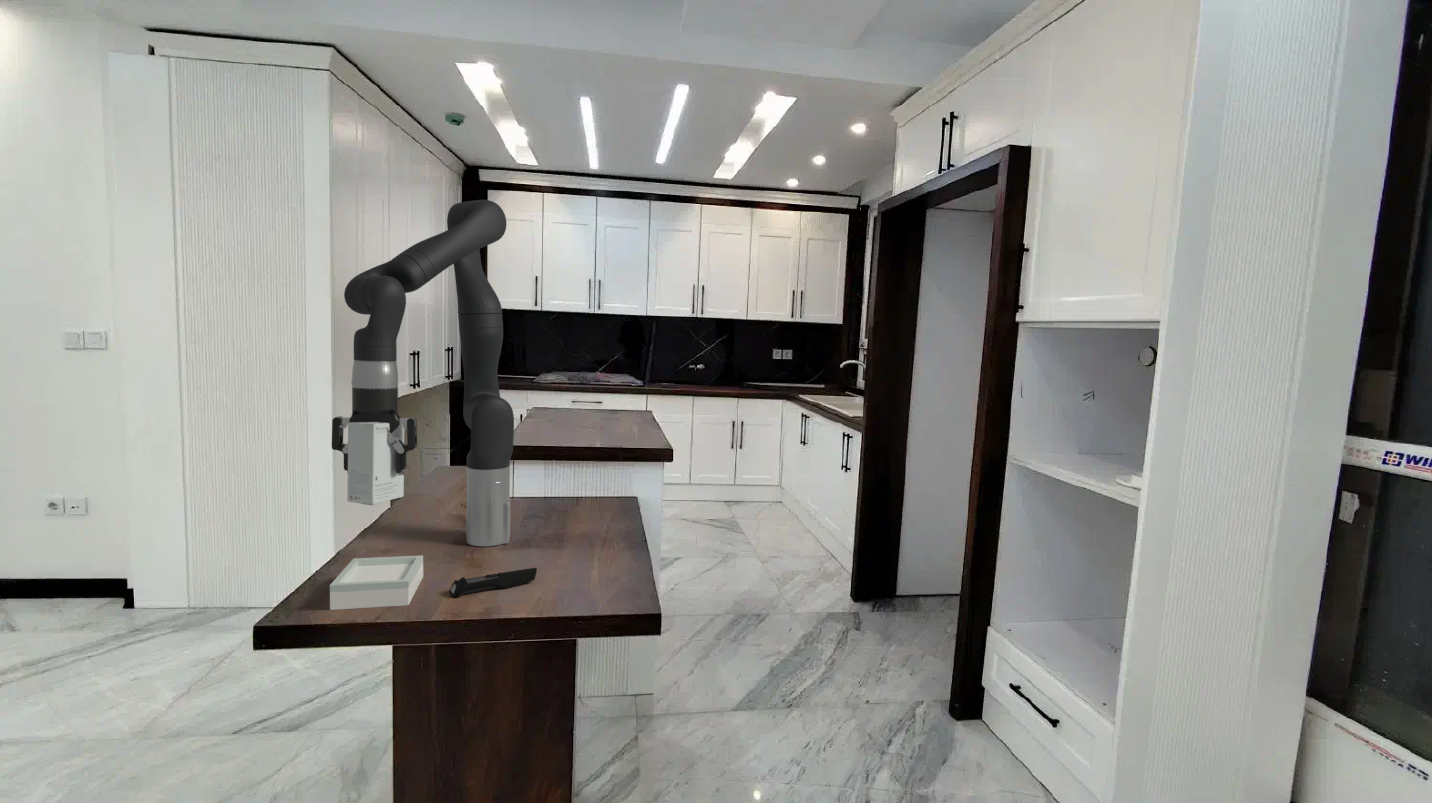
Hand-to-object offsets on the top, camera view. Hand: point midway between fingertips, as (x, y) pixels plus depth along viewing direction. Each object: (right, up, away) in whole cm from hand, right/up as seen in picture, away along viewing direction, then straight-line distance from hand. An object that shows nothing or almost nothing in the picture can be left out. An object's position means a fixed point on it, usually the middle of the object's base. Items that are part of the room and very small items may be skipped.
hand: (375, 472), depth 123 cm
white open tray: (+3, -21, -5) cm, 22 cm away
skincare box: (0, -5, +1) cm, 5 cm away
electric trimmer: (+22, -22, -1) cm, 31 cm away
